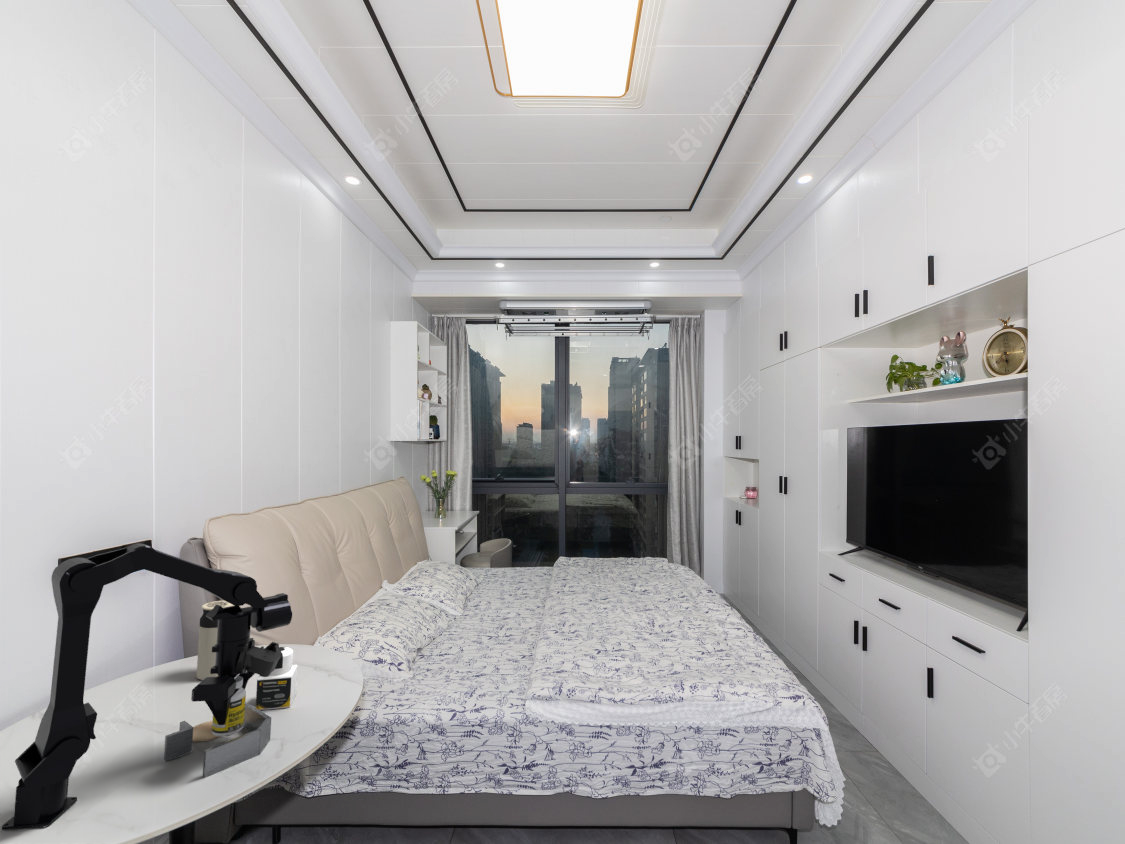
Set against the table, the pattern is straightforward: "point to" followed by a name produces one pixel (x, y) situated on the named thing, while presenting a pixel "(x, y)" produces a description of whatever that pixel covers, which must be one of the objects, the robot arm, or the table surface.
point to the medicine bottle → (278, 684)
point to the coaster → (203, 732)
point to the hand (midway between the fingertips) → (228, 717)
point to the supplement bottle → (232, 713)
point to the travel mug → (207, 641)
